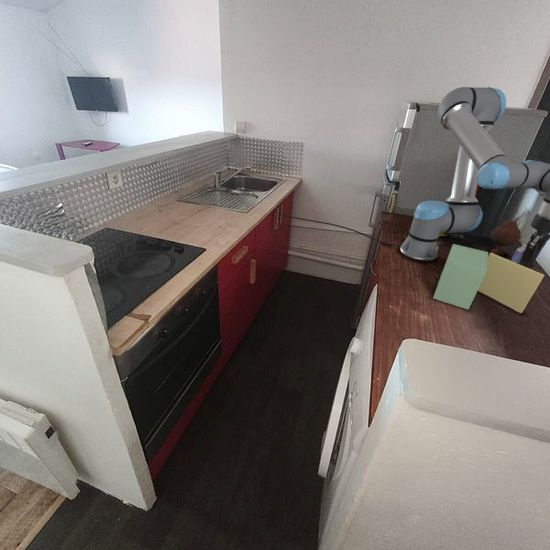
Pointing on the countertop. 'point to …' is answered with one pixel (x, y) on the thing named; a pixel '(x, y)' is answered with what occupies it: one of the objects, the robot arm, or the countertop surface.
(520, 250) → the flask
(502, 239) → the ice cream bowl
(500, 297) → the door
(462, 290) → the cupboard
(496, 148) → the robot arm
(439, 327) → the countertop surface
